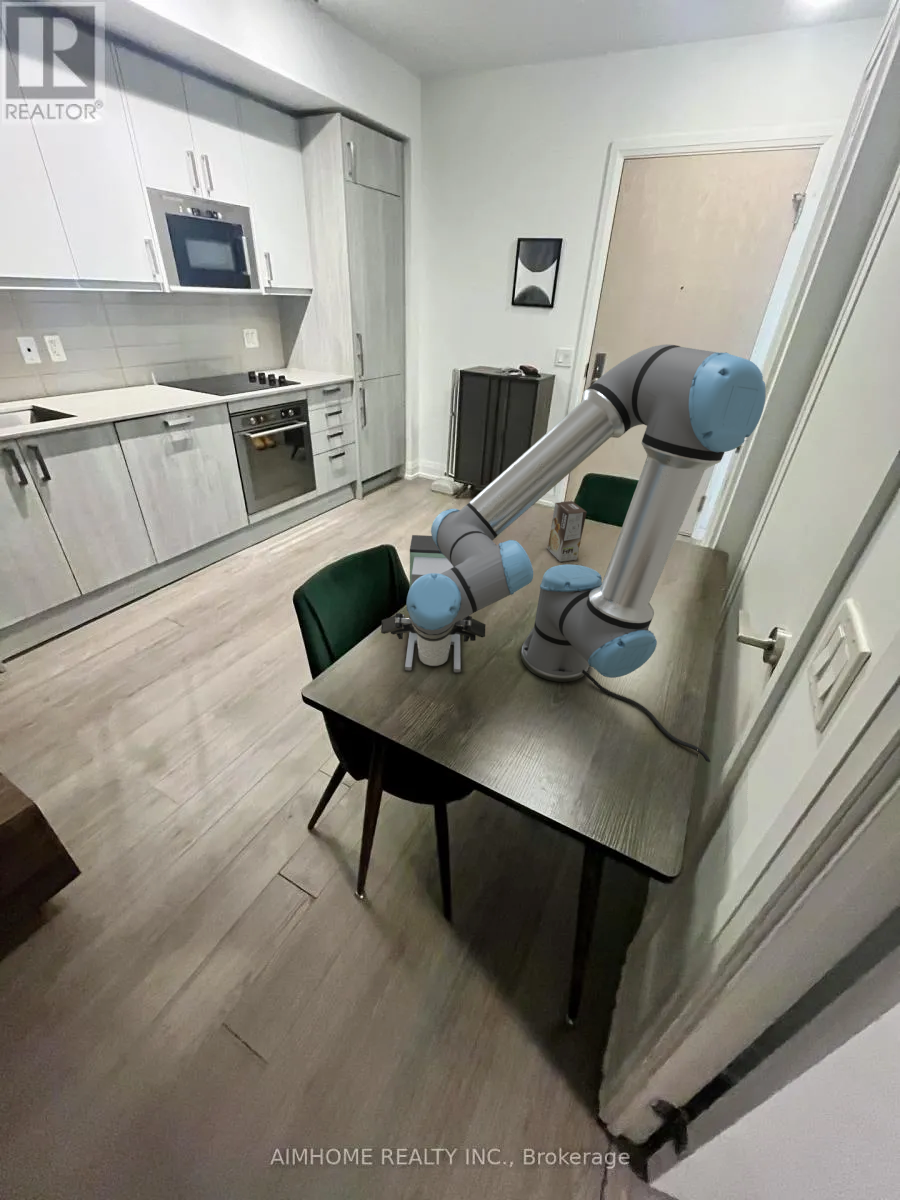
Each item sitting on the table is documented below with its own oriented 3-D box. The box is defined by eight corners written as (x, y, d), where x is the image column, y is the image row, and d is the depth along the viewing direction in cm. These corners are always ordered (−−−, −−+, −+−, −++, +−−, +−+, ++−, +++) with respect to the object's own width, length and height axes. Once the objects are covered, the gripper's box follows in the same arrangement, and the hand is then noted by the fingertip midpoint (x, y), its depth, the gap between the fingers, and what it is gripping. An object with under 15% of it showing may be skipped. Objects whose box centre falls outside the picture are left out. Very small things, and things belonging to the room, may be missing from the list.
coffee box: (577, 560, 152) (588, 512, 143) (559, 562, 150) (569, 513, 141) (563, 547, 159) (572, 500, 150) (546, 548, 157) (554, 502, 149)
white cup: (446, 670, 106) (448, 634, 100) (412, 664, 107) (412, 628, 101) (454, 648, 112) (456, 613, 107) (420, 643, 113) (421, 607, 108)
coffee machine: (460, 672, 105) (466, 583, 93) (404, 670, 105) (404, 580, 93) (459, 619, 122) (465, 537, 110) (411, 617, 122) (412, 534, 110)
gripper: (507, 598, 82) (492, 618, 103) (360, 591, 82) (375, 614, 103) (507, 641, 81) (492, 654, 102) (357, 636, 80) (372, 649, 101)
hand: (433, 634), depth 102 cm, fingers open, 13 cm apart
